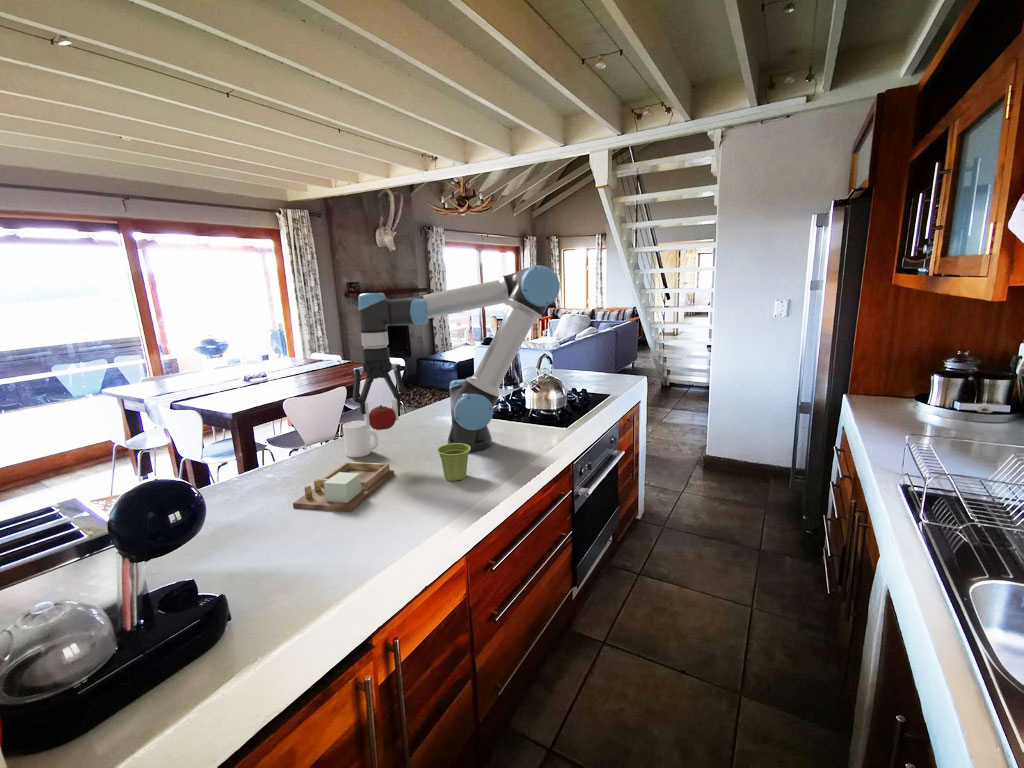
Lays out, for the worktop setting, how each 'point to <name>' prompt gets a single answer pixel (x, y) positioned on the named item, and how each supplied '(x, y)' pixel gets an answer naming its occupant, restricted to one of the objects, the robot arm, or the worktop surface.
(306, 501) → the housing base
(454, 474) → the plant pot
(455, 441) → the robot arm
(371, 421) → the tomato
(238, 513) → the worktop surface
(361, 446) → the mug
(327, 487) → the block
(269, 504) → the worktop surface
